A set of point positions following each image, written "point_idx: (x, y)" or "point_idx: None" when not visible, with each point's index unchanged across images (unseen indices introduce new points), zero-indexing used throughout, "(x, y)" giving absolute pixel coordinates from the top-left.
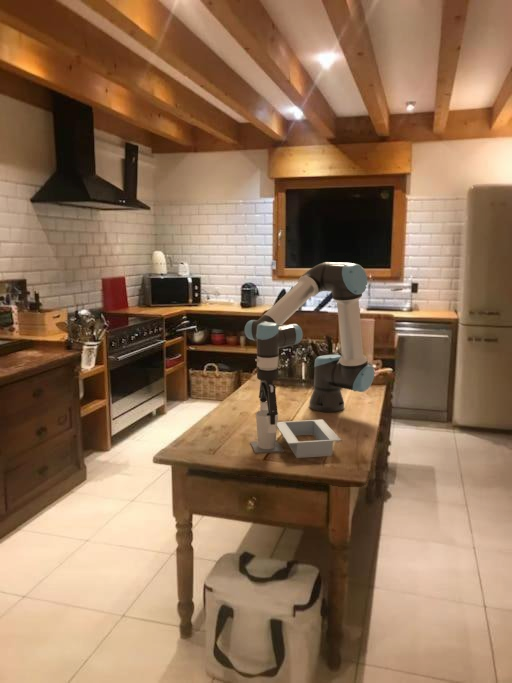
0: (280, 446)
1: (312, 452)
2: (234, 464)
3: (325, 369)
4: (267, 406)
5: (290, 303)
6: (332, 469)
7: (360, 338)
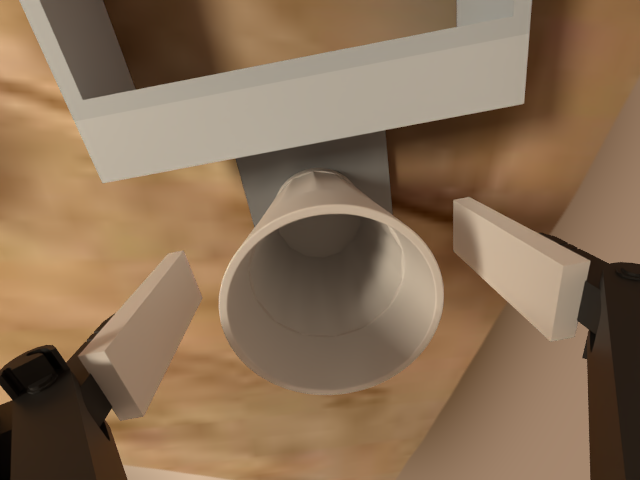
0: (327, 141)
1: None
2: (485, 326)
3: None
4: (135, 320)
5: None
6: None
7: None
